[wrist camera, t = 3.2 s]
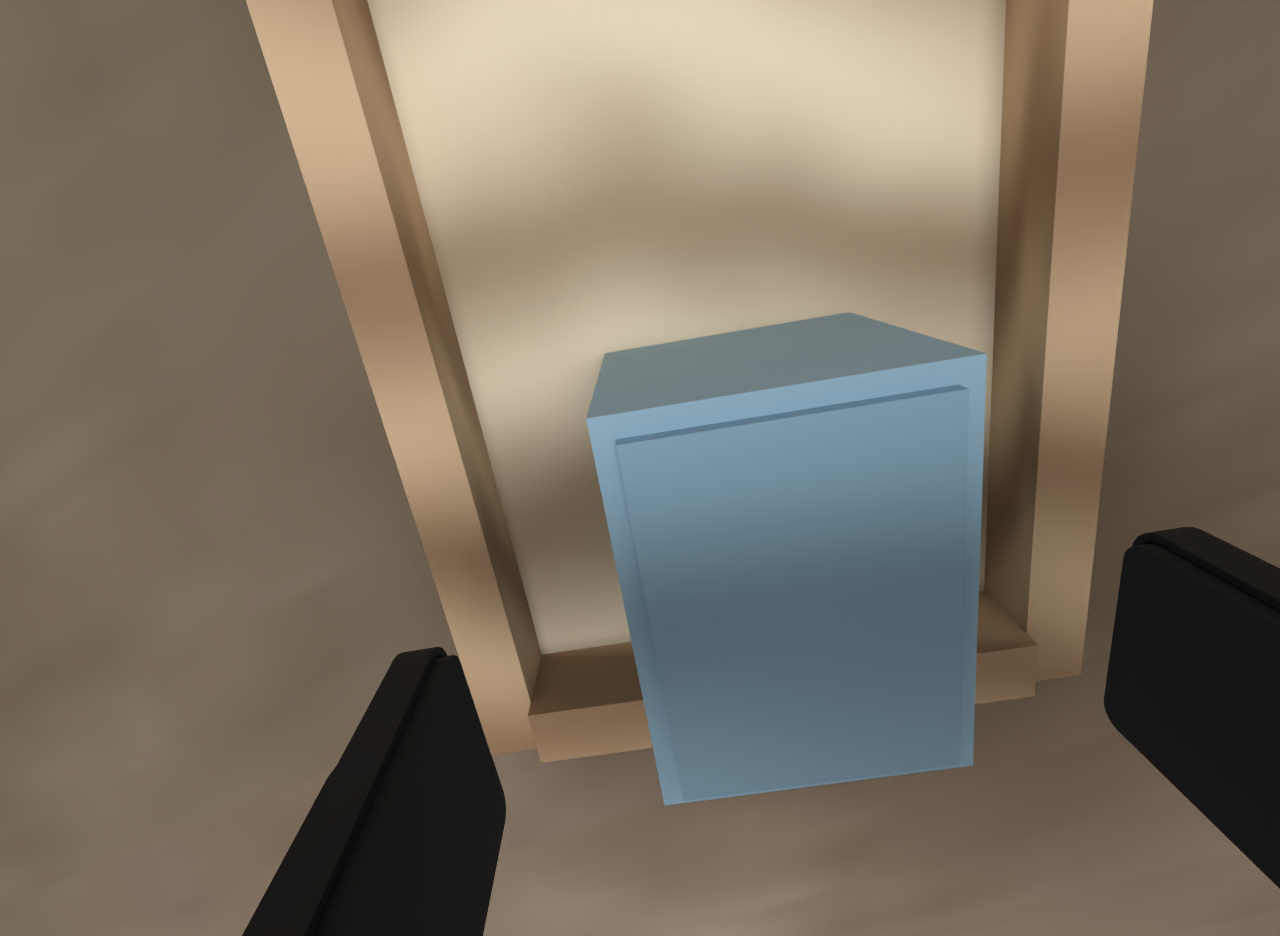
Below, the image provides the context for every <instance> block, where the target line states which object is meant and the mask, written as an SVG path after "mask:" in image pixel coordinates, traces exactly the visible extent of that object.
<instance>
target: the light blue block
mask: <svg viewBox="0 0 1280 936" xmlns="http://www.w3.org/2000/svg"><path fill="white" fill-rule="evenodd" d="M986 363H987V353H983V352H980V351H977V350H974V349H970V348H967V347H964V346H960V345H957V344H954V343H950V342H947V341H944V340H940V339H937V338H934V337H930V336H927V335H924V334H920V333H917V332H914V331H911V330H907V329H904V328H901V327H897V326H894V325H891V324H887V323H884V322H881V321H877V320H874V319H871V318H867V317H864V316H861V315H857V314H854V313H851V312H849V313H843V314H837V315H831V316H825V317H819V318H813V319H807V320H801V321H795V322H789V323H783V324H777V325H771V326H765V327H759V328H753V329H747V330H741V331H735V332H729V333H723V334H717V335H711V336H706V337H700V338H694V339H688V340H682V341H676V342H670V343H664V344H658V345H652V346H646V347H640V348H634V349H628V350H622V351H616V352H610V353H605V355H604V358H603V362H602V365H601V369H600V372H599V375H598V379H597V382H596V386H595V389H594V393H593V396H592V400H591V403H590V407H589V410H588V414H587V417H586V421H587V426H588V430H589V435H590V440H591V445H592V450H593V455H594V460H595V465H596V470H597V475H598V480H599V485H600V490H601V494H602V499H603V504H604V509H605V514H606V519H607V524H608V529H609V534H610V539H611V544H612V549H613V554H614V559H615V563H616V568H617V573H618V578H619V583H620V588H621V593H622V598H623V603H624V608H625V613H626V618H627V623H628V627H629V632H630V637H631V642H632V647H633V652H634V657H635V662H636V667H637V672H638V677H639V682H640V687H641V692H642V696H643V701H644V706H645V711H646V716H647V721H648V726H649V731H650V736H651V741H652V746H653V751H654V756H655V760H656V765H657V770H658V775H659V780H660V785H661V790H662V795H663V800H664V805H672V804H680V803H687V802H695V801H703V800H711V799H718V798H726V797H734V796H741V795H749V794H757V793H765V792H772V791H780V790H788V789H795V788H803V787H811V786H819V785H826V784H834V783H842V782H850V781H857V780H865V779H873V778H880V777H888V776H896V775H904V774H911V773H919V772H927V771H934V770H942V769H950V768H958V767H965V766H973V749H974V720H975V690H976V660H977V631H978V601H979V571H980V542H981V512H982V482H983V453H984V423H985V393H986Z"/></svg>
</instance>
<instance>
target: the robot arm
mask: <svg viewBox="0 0 1280 936" xmlns="http://www.w3.org/2000/svg"><path fill="white" fill-rule="evenodd" d="M1104 706H1105V710H1106V713H1107V715H1108V718H1109V719H1110V721H1111V723H1112V724H1113V725H1114V727H1115V728H1116V729H1117V730H1118V731H1119V732H1120V733H1121V734H1122V735H1123V736H1124V737H1125V738H1126V739H1127V740H1128V741H1129V742H1130V743H1131V744H1132V745H1133V746H1134V747H1135V748H1136V749H1137V750H1138V751H1139V752H1140V753H1141V754H1142V755H1143V756H1145V757H1146V758H1147V759H1148V760H1149V761H1150V762H1151V763H1152V764H1153V765H1154V766H1155V767H1156V768H1157V769H1158V770H1159V771H1160V772H1161V773H1162V774H1163V775H1164V776H1165V777H1166V778H1167V779H1168V780H1169V781H1170V782H1171V783H1172V784H1173V785H1174V786H1175V787H1176V788H1177V789H1178V790H1179V791H1180V792H1181V793H1182V794H1183V795H1184V796H1185V797H1186V798H1188V799H1189V800H1190V801H1191V802H1192V803H1193V804H1194V805H1195V806H1196V807H1197V808H1198V809H1199V810H1200V811H1201V812H1202V813H1203V814H1204V815H1205V816H1206V817H1207V818H1208V819H1209V820H1210V821H1211V822H1212V823H1213V824H1214V825H1215V826H1216V827H1217V828H1218V829H1219V830H1220V831H1221V832H1222V833H1223V834H1224V835H1225V836H1226V837H1227V838H1228V839H1229V840H1231V841H1232V842H1233V843H1234V844H1235V845H1236V846H1237V847H1238V848H1239V849H1240V850H1241V851H1242V852H1243V853H1244V854H1245V855H1246V856H1247V857H1248V858H1249V859H1250V860H1251V861H1252V862H1253V863H1254V864H1255V865H1256V866H1257V867H1258V868H1259V869H1260V870H1261V871H1262V872H1263V873H1264V874H1265V875H1266V876H1267V877H1268V878H1269V879H1270V880H1271V881H1272V882H1274V883H1275V884H1276V885H1277V886H1278V887H1279V888H1280V568H1278V567H1275V566H1273V565H1271V564H1269V563H1267V562H1265V561H1263V560H1261V559H1259V558H1257V557H1255V556H1253V555H1251V554H1249V553H1247V552H1245V551H1243V550H1241V549H1239V548H1237V547H1235V546H1233V545H1231V544H1229V543H1227V542H1225V541H1223V540H1221V539H1219V538H1217V537H1215V536H1213V535H1211V534H1209V533H1207V532H1205V531H1203V530H1200V529H1197V528H1194V527H1182V528H1176V529H1169V530H1163V531H1157V532H1151V533H1145V534H1142V535H1140V536H1138V537H1137V539H1136V540H1135V541H1134V543H1133V546H1132V547H1130V548H1128V550H1127V551H1126V552H1125V555H1124V558H1123V565H1122V572H1121V579H1120V587H1119V594H1118V601H1117V608H1116V616H1115V623H1114V630H1113V637H1112V645H1111V652H1110V659H1109V666H1108V673H1107V681H1106V688H1105V695H1104ZM505 817H506V803H505V796H504V792H503V789H502V786H501V783H500V780H499V777H498V774H497V771H496V768H495V765H494V762H493V759H492V756H491V753H490V750H489V746H488V743H487V740H486V737H485V734H484V731H483V728H482V725H481V722H480V719H479V716H478V713H477V710H476V707H475V704H474V701H473V698H472V695H471V692H470V689H469V686H468V683H467V680H466V677H465V674H464V671H463V668H462V665H461V662H460V660H459V658H458V657H457V656H455V655H451V656H447V654H446V652H445V651H444V650H443V648H441V647H434V648H428V649H422V650H416V651H409V652H403V653H400V654H398V655H397V656H396V657H395V659H394V660H393V662H392V664H391V666H390V668H389V669H388V671H387V673H386V675H385V677H384V679H383V681H382V682H381V684H380V686H379V688H378V690H377V692H376V694H375V695H374V697H373V699H372V701H371V703H370V705H369V707H368V708H367V710H366V712H365V714H364V716H363V718H362V720H361V722H360V723H359V725H358V727H357V729H356V731H355V733H354V735H353V736H352V738H351V740H350V742H349V744H348V746H347V748H346V749H345V751H344V753H343V755H342V757H341V759H340V761H339V763H338V764H337V766H336V767H335V768H334V770H333V771H332V773H331V774H330V775H329V777H328V778H327V780H326V782H325V784H324V786H323V787H322V789H321V791H320V793H319V795H318V797H317V798H316V800H315V802H314V804H313V806H312V808H311V810H310V811H309V813H308V815H307V817H306V819H305V821H304V822H303V824H302V826H301V828H300V830H299V832H298V834H297V835H296V837H295V839H294V841H293V843H292V845H291V846H290V848H289V850H288V852H287V854H286V856H285V858H284V859H283V861H282V863H281V865H280V867H279V869H278V870H277V872H276V874H275V876H274V878H273V880H272V882H271V883H270V885H269V887H268V889H267V891H266V893H265V894H264V896H263V898H262V900H261V902H260V904H259V905H258V907H257V909H256V911H255V913H254V915H253V917H252V918H251V920H250V922H249V924H248V926H247V928H246V929H245V931H244V933H243V935H242V936H483V932H484V927H485V922H486V917H487V912H488V907H489V901H490V896H491V891H492V886H493V881H494V876H495V871H496V865H497V860H498V855H499V850H500V845H501V840H502V835H503V830H504V824H505Z"/></svg>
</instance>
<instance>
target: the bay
mask: <svg viewBox="0 0 1280 936" xmlns="http://www.w3.org/2000/svg"><path fill="white" fill-rule="evenodd" d="M246 2H247V5H248V8H249V11H250V15H251V18H252V21H253V24H254V27H255V30H256V33H257V36H258V39H259V42H260V45H261V48H262V52H263V55H264V58H265V61H266V64H267V67H268V70H269V73H270V76H271V79H272V82H273V85H274V89H275V92H276V95H277V98H278V101H279V104H280V107H281V110H282V113H283V116H284V119H285V122H286V126H287V129H288V132H289V135H290V138H291V141H292V144H293V147H294V150H295V153H296V156H297V159H298V163H299V166H300V169H301V172H302V175H303V178H304V181H305V184H306V187H307V190H308V193H309V196H310V200H311V203H312V206H313V209H314V212H315V215H316V218H317V221H318V224H319V227H320V230H321V233H322V236H323V240H324V243H325V246H326V249H327V252H328V255H329V258H330V261H331V264H332V267H333V270H334V273H335V277H336V280H337V283H338V286H339V289H340V292H341V295H342V298H343V301H344V304H345V307H346V310H347V314H348V317H349V320H350V323H351V326H352V329H353V332H354V335H355V338H356V341H357V344H358V347H359V351H360V354H361V357H362V360H363V363H364V366H365V369H366V372H367V375H368V378H369V381H370V384H371V388H372V391H373V394H374V397H375V400H376V403H377V406H378V409H379V412H380V415H381V418H382V421H383V424H384V428H385V431H386V434H387V437H388V440H389V443H390V446H391V449H392V452H393V455H394V458H395V461H396V465H397V468H398V471H399V474H400V477H401V480H402V483H403V486H404V489H405V492H406V495H407V498H408V502H409V505H410V508H411V511H412V514H413V517H414V520H415V523H416V526H417V529H418V532H419V535H420V539H421V542H422V545H423V548H424V551H425V554H426V557H427V560H428V563H429V566H430V569H431V572H432V576H433V579H434V582H435V585H436V588H437V591H438V594H439V597H440V600H441V603H442V606H443V609H444V612H445V616H446V619H447V622H448V625H449V628H450V631H451V634H452V637H453V640H454V643H455V646H456V649H457V653H458V656H459V659H460V662H461V665H462V668H463V671H464V674H465V677H466V680H467V683H468V686H469V689H470V692H471V695H472V698H473V701H474V704H475V707H476V710H477V713H478V716H479V719H480V722H481V725H482V728H483V731H484V734H485V737H486V740H487V743H488V746H489V750H490V753H491V755H498V754H505V753H512V752H520V751H527V750H534V749H537V750H538V754H539V757H540V761H541V763H543V762H551V761H558V760H566V759H573V758H581V757H588V756H595V755H603V754H610V753H618V752H625V751H633V750H640V749H647V748H653V746H652V741H651V736H650V731H649V726H648V721H647V716H646V711H645V706H644V701H643V696H642V692H641V687H640V682H639V677H638V672H637V667H636V662H635V657H634V652H633V647H632V642H631V637H630V632H629V627H628V623H627V618H626V613H625V608H624V603H623V598H622V593H621V588H620V583H619V578H618V573H617V568H616V563H615V559H614V554H613V549H612V544H611V539H610V534H609V529H608V524H607V519H606V514H605V509H604V504H603V499H602V494H601V490H600V485H599V480H598V475H597V470H596V465H595V460H594V455H593V450H592V445H591V440H590V435H589V430H588V426H587V421H586V417H587V414H588V410H589V407H590V403H591V400H592V396H593V393H594V389H595V386H596V382H597V379H598V375H599V372H600V369H601V365H602V362H603V358H604V355H605V353H610V352H616V351H622V350H628V349H634V348H640V347H646V346H652V345H658V344H664V343H670V342H676V341H682V340H688V339H694V338H700V337H706V336H711V335H717V334H723V333H729V332H735V331H741V330H747V329H753V328H759V327H765V326H771V325H777V324H783V323H789V322H795V321H801V320H807V319H813V318H819V317H825V316H831V315H837V314H843V313H849V312H851V313H854V314H857V315H861V316H864V317H867V318H871V319H874V320H877V321H881V322H884V323H887V324H891V325H894V326H897V327H901V328H904V329H907V330H911V331H914V332H917V333H920V334H924V335H927V336H930V337H934V338H937V339H940V340H944V341H947V342H950V343H954V344H957V345H960V346H964V347H967V348H970V349H974V350H977V351H980V352H983V353H987V363H986V393H985V423H984V453H983V482H982V512H981V542H980V571H979V601H978V631H977V660H976V690H975V704H982V703H990V702H997V701H1005V700H1012V699H1019V698H1027V697H1034V696H1035V689H1036V681H1043V680H1051V679H1058V678H1065V677H1073V676H1080V675H1081V671H1082V661H1083V652H1084V643H1085V633H1086V624H1087V615H1088V605H1089V596H1090V587H1091V578H1092V568H1093V559H1094V550H1095V540H1096V531H1097V522H1098V512H1099V503H1100V494H1101V484H1102V475H1103V466H1104V456H1105V447H1106V438H1107V428H1108V419H1109V410H1110V400H1111V391H1112V382H1113V372H1114V363H1115V354H1116V344H1117V335H1118V326H1119V317H1120V307H1121V298H1122V289H1123V279H1124V270H1125V261H1126V251H1127V242H1128V233H1129V223H1130V214H1131V205H1132V195H1133V186H1134V177H1135V167H1136V158H1137V149H1138V139H1139V130H1140V121H1141V111H1142V102H1143V93H1144V83H1145V74H1146V65H1147V56H1148V46H1149V37H1150V28H1151V18H1152V9H1153V0H246Z"/></svg>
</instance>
